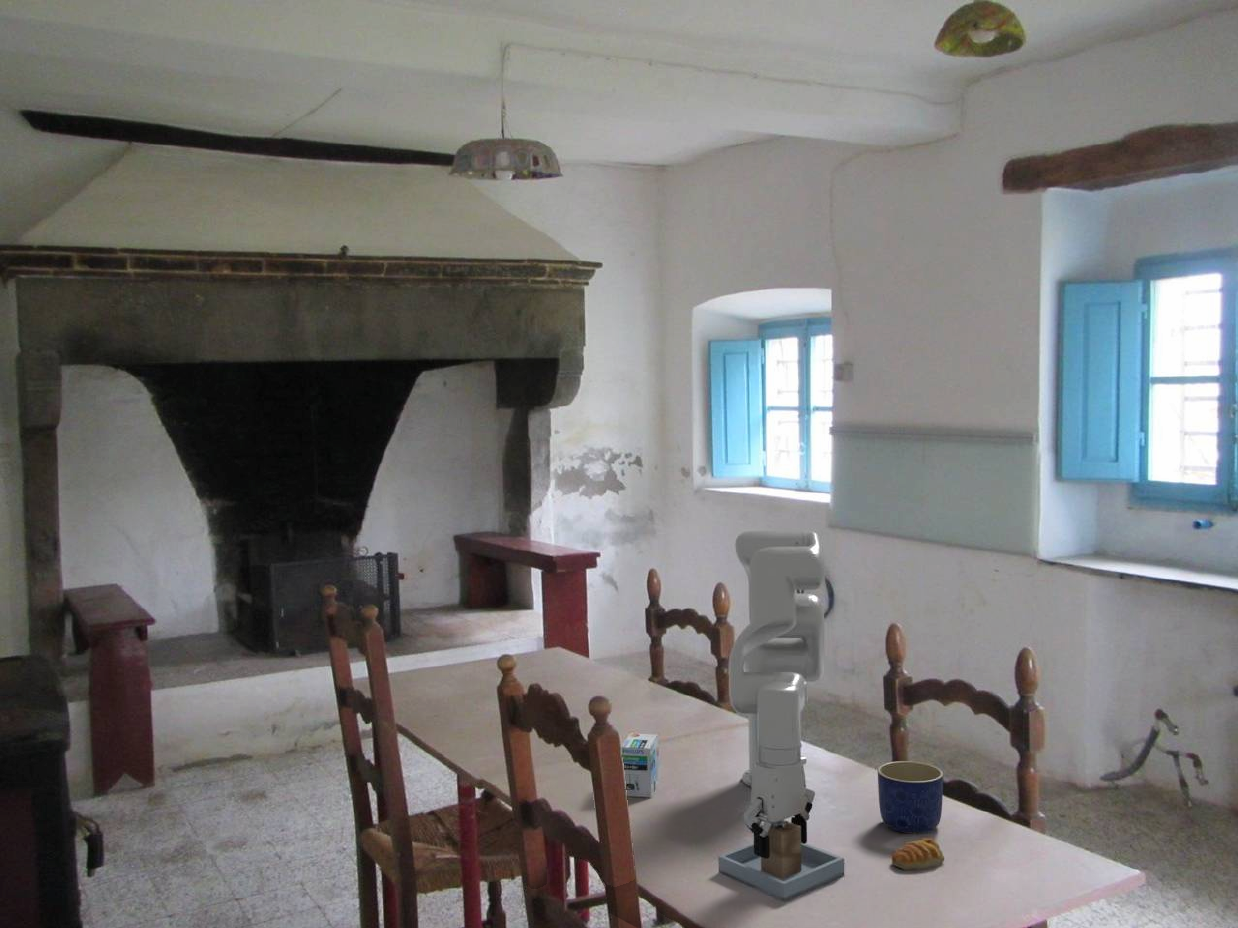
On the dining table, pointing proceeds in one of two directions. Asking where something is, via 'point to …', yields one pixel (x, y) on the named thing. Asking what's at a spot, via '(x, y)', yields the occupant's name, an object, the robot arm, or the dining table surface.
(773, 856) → the walnut block
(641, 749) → the light bulb box
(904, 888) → the dining table surface
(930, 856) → the pastry
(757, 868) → the tray
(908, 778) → the planter
